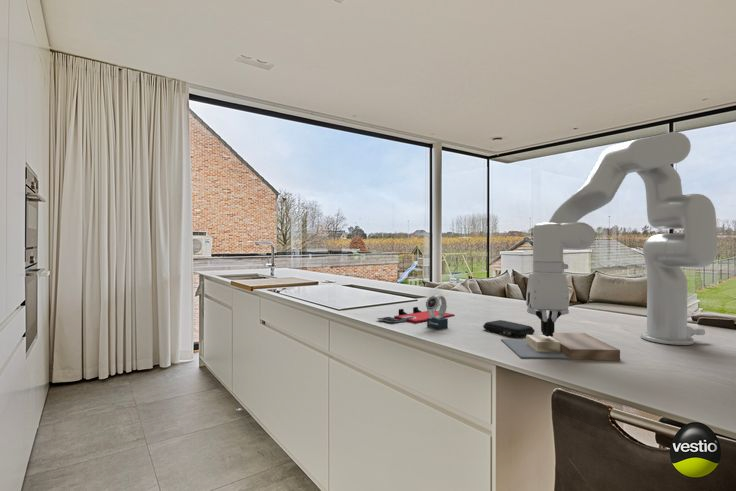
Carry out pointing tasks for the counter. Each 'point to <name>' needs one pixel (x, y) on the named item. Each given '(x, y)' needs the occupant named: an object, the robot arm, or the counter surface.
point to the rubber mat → (531, 350)
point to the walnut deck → (585, 347)
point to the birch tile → (543, 343)
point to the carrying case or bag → (509, 328)
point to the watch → (434, 320)
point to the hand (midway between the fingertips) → (547, 335)
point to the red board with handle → (413, 316)
